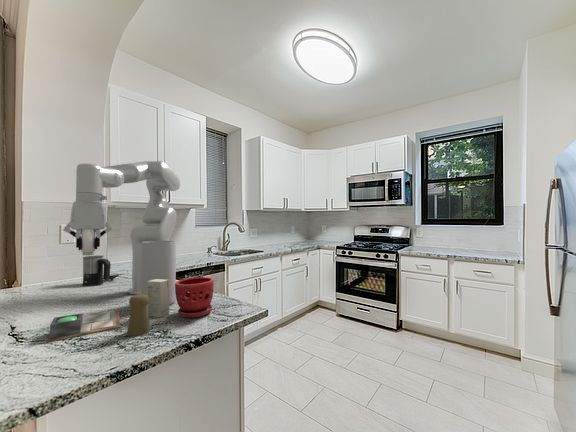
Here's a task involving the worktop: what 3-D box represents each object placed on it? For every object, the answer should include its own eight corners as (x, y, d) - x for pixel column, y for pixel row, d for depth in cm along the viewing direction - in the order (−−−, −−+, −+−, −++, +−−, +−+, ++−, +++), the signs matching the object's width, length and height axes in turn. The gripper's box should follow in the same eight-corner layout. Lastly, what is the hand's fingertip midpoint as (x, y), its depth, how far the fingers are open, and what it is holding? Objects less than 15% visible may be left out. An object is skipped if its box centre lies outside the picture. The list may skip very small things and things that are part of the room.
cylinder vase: (132, 306, 101) (134, 242, 101) (157, 298, 113) (158, 240, 113) (158, 310, 97) (159, 243, 98) (181, 300, 109) (182, 240, 110)
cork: (133, 328, 80) (133, 292, 80) (153, 327, 81) (154, 292, 81) (122, 336, 74) (123, 298, 74) (144, 336, 75) (145, 297, 75)
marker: (95, 253, 96) (95, 225, 96) (94, 255, 93) (95, 226, 93) (81, 253, 94) (81, 225, 94) (80, 255, 91) (80, 226, 90)
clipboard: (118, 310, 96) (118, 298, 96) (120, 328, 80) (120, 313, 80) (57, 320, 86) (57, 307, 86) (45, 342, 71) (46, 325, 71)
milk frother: (77, 286, 133) (78, 257, 134) (94, 280, 149) (95, 254, 149) (108, 285, 136) (109, 256, 136) (121, 279, 151) (122, 253, 152)
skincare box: (169, 313, 93) (170, 279, 93) (160, 317, 89) (160, 282, 89) (156, 311, 95) (156, 278, 95) (146, 315, 91) (146, 280, 91)
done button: (77, 323, 79) (77, 315, 79) (76, 327, 76) (76, 319, 76) (58, 326, 77) (58, 318, 77) (56, 331, 73) (56, 322, 73)
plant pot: (212, 306, 102) (212, 275, 102) (214, 317, 89) (214, 282, 89) (176, 309, 97) (176, 277, 98) (172, 322, 85) (173, 285, 85)
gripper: (116, 200, 102) (115, 247, 101) (60, 198, 92) (59, 249, 92) (117, 199, 95) (116, 248, 95) (56, 196, 86) (55, 251, 85)
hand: (88, 248), depth 93 cm, fingers closed on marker, 4 cm apart
